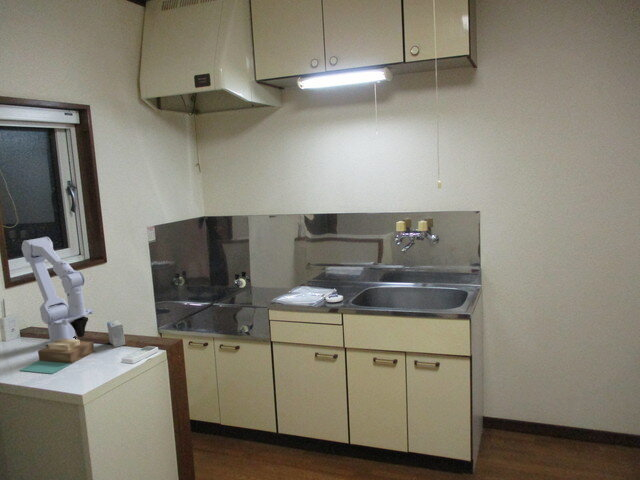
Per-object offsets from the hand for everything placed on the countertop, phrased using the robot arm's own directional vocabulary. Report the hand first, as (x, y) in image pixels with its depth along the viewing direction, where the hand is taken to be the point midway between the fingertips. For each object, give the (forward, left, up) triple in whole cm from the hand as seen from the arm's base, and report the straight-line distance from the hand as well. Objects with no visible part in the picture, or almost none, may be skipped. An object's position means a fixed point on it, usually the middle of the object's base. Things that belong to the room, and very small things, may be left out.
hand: (80, 336), depth 207 cm
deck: (+8, 0, -5) cm, 9 cm away
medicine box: (-7, +11, -5) cm, 14 cm away
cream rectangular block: (+8, 0, -1) cm, 9 cm away
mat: (+19, 0, -5) cm, 19 cm away
